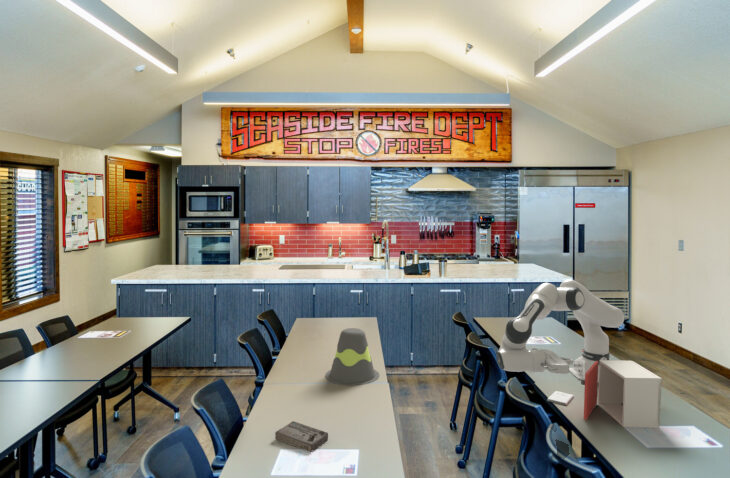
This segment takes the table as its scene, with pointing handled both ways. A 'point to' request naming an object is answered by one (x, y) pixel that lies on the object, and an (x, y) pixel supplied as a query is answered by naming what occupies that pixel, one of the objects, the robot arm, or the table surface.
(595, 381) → the door
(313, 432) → the box
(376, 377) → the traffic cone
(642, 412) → the cabinet
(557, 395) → the external hard drive
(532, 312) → the robot arm
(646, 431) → the table surface
